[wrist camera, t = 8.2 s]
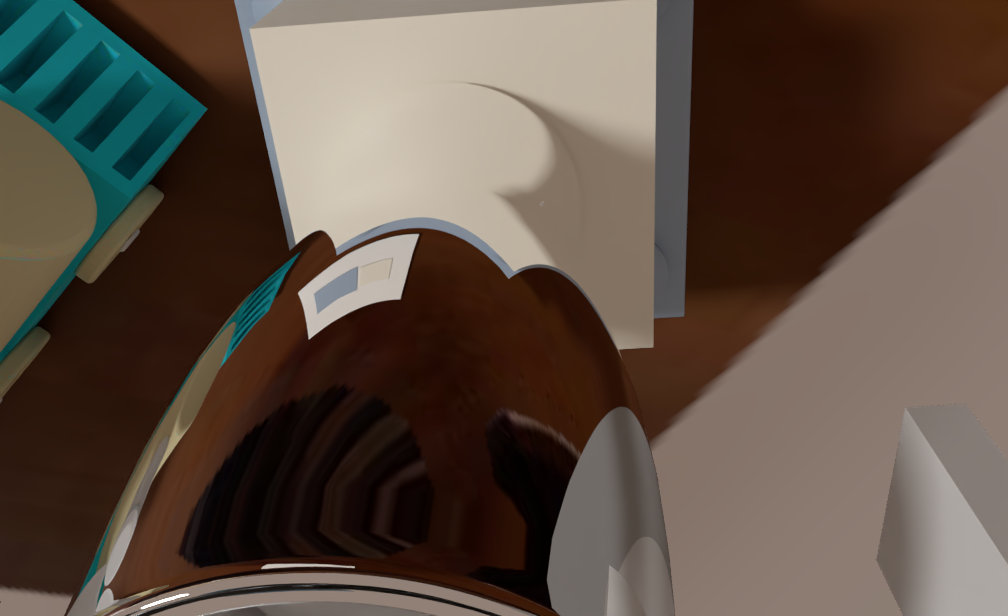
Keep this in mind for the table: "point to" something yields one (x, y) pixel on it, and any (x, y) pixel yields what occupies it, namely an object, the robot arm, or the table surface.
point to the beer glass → (404, 405)
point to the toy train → (72, 159)
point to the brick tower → (522, 75)
